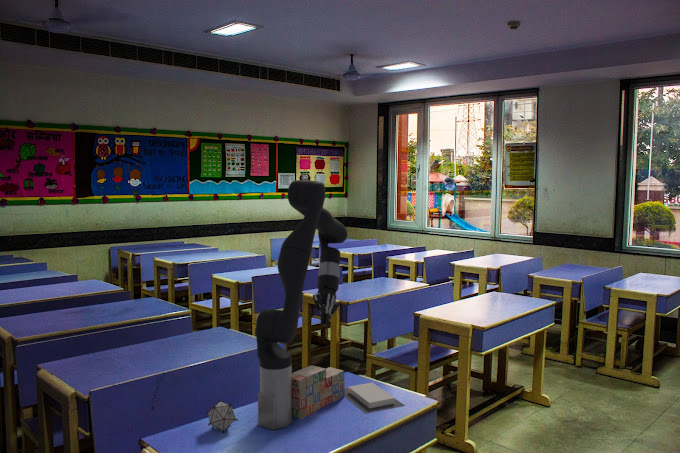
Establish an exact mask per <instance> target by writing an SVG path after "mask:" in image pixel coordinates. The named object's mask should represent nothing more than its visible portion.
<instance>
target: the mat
mask: <svg viewBox="0 0 680 453" xmlns="http://www.w3.org/2000/svg"><path fill="white" fill-rule="evenodd" d="M344 390H345V391H344V393H345V394H344V397H343V398H345V399H347V400H348V401H350V402H351V403H352V405H354V406H356V408H358V409H359V410H360V411H362V412H363V413H364V414H365V415H367V414H370V413H376V412H381V411H386V410H391V409H396V408H400V407H406V405H405V404H404V403H402V402H401V401H400V400H398V399H396V398H395V404H391V405H386V406H381V407H376V408H368V407H367V406H365V405H364V404H363V403H362V402H360V401H359V400H358V399H357V398H355V397H354V396H353V395H351V394H350V393H349V392H348V387H346V388H344Z"/></svg>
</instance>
